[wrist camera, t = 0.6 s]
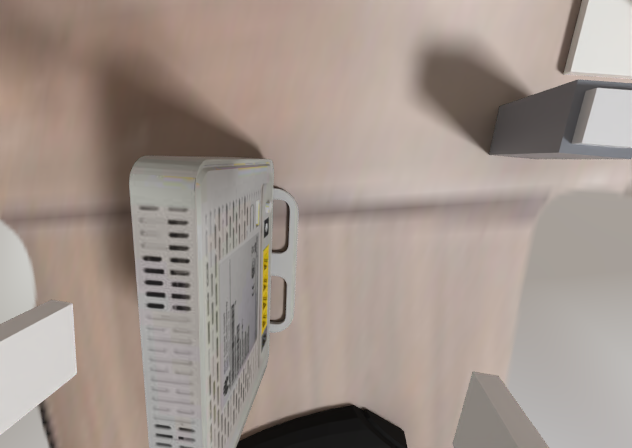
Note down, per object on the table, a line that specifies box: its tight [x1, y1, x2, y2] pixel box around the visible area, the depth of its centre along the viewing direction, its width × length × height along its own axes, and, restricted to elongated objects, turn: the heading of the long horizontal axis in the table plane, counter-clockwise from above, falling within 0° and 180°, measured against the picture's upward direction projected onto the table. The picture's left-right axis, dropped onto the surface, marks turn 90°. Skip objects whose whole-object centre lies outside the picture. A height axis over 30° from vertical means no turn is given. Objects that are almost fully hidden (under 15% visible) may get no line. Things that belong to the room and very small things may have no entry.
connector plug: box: [489, 80, 632, 159], centre depth 26 cm, size 5×5×12 cm
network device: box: [129, 156, 299, 448], centre depth 28 cm, size 26×9×20 cm, turn 177°
